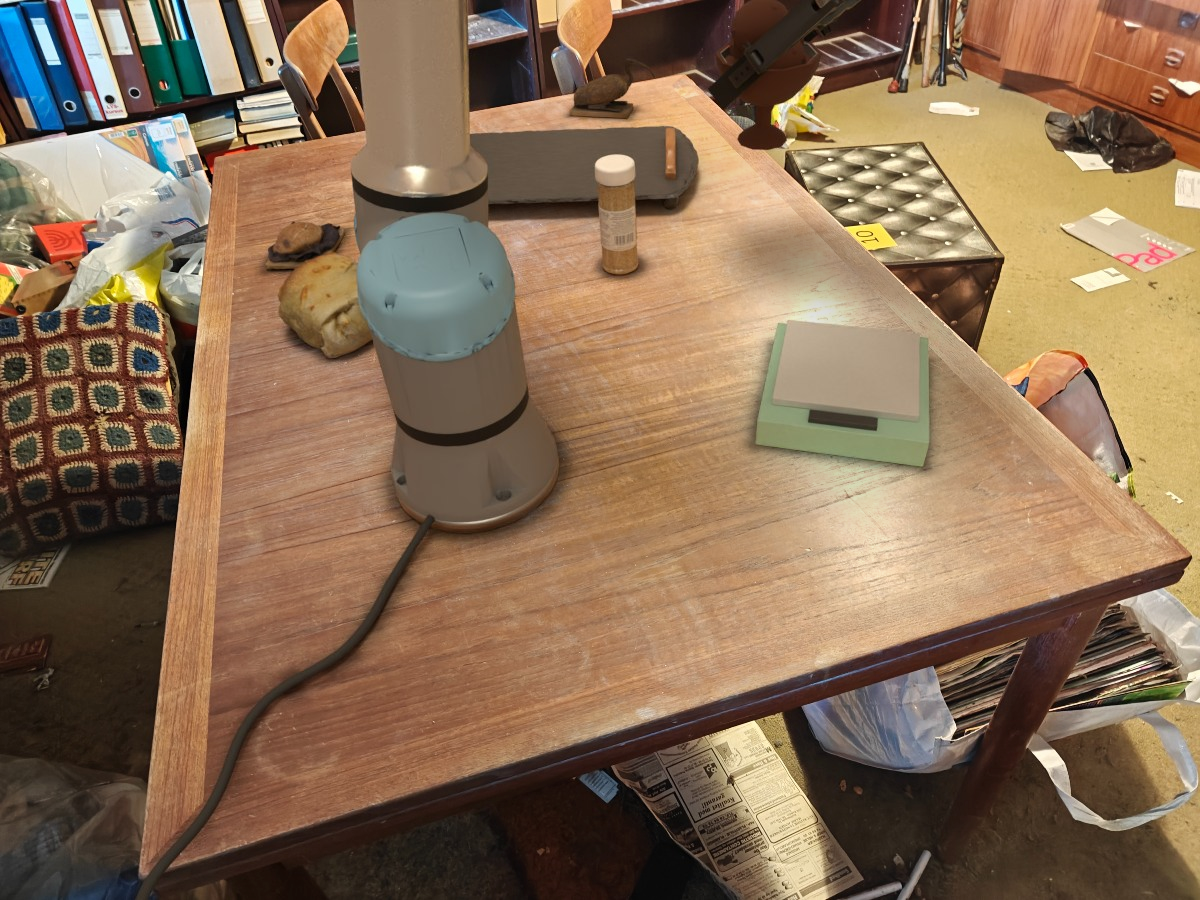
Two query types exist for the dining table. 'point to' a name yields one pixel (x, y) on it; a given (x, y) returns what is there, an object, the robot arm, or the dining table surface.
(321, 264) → the pastry
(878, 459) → the kitchen scale
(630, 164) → the sprinkles bottle
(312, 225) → the open sandwich
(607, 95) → the figurine
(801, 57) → the ice cream bowl
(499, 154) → the serving tray
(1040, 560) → the dining table surface
